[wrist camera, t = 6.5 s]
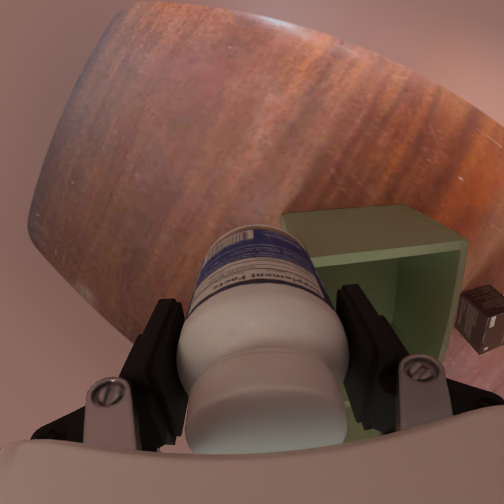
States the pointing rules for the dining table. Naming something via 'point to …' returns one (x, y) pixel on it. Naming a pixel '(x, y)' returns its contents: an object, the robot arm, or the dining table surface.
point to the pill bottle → (262, 349)
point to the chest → (389, 267)
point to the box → (481, 318)
